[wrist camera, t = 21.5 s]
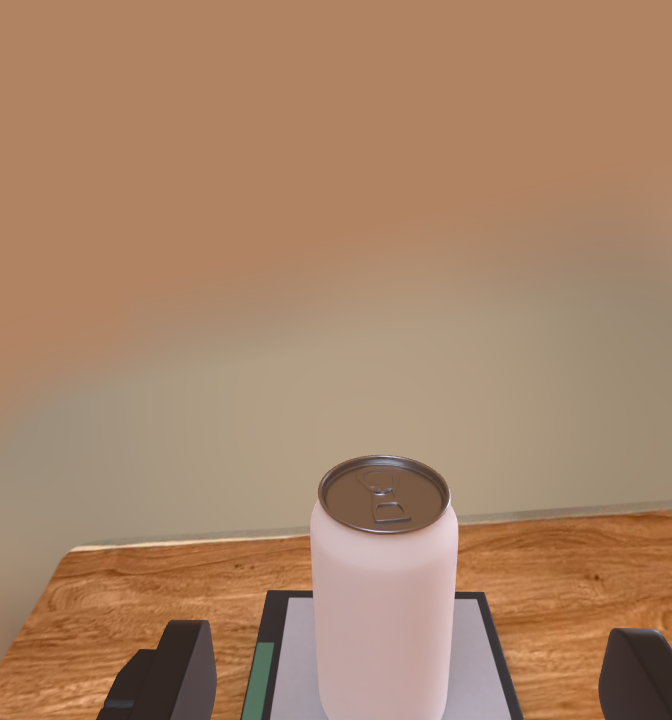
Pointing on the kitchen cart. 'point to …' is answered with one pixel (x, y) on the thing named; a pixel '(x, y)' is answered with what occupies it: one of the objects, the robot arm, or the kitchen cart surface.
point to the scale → (299, 663)
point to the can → (383, 589)
